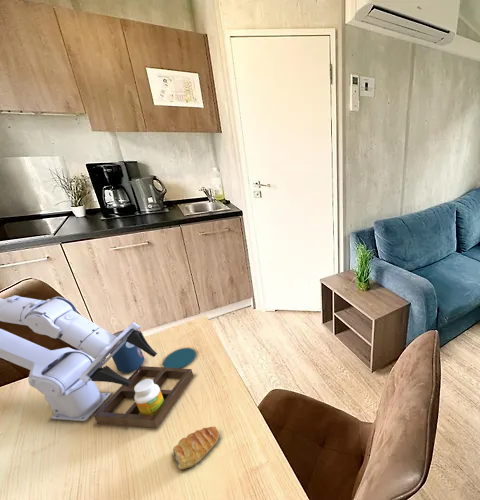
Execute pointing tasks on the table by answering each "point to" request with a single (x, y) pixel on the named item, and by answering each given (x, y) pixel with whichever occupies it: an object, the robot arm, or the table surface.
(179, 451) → the pastry
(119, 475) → the table surface
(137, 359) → the soda can
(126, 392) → the rack
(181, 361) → the coaster
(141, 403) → the supplement bottle
